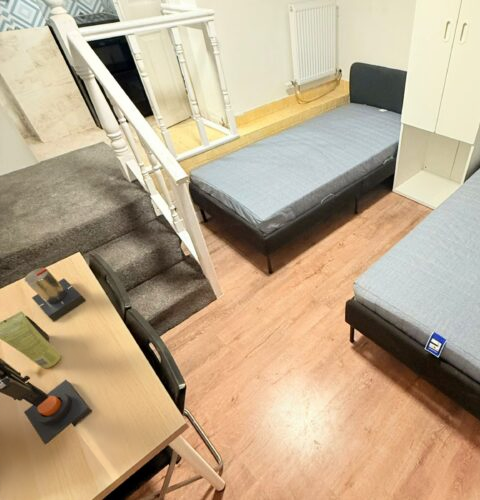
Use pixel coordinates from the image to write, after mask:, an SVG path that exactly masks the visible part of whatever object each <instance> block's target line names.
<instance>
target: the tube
mask: <svg viewBox="0 0 480 500" xmlns="http://www.w3.org/2000/svg"><path fill="white" fill-rule="evenodd" d="M25 316H26V315H25V313H24V312H23V311H18V312H17V313H15V314H12V315H11V316H9V317H7V318H5V319H2V320H1V321H0V340H1V341H2V342H4V343H6V344H7V345H9V346H10V347H12V348H14V349H15V350H16V351H18V352H20V353H21V354H22V355H24V356H25V357H27V358H28V359H29V360H31V361H33V362H34V363H35V364H36V365H37V366H39V367H40V368H42V369H50V368H52V367H53V366H55V365H56V364H57V363H58V362H59V361H60V359H61V353H60V352H59V351H58V350H57V349H56V348H55V347H54V346H53V345H52V344H51V343H50V342H49V341H48V342H47V341H46V339H45V338H44V337H43V336H42V335H41V334H40V333H39V332H38V331H37V330H36V329H35V328H34V326H33V325H32V324H31V323H30V322H29V320H28V319H27V318H26V317H25Z"/></svg>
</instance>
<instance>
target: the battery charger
mask: <svg viewBox="0 0 480 500" xmlns="http://www.w3.org/2000/svg"><path fill="white" fill-rule="evenodd" d="M25 317H26V318H27V319H28V320H29V322H30V323H31V324H32V325H33V326H34V328H35V329H36V330H37V331H38V332H39V333H40V334H41V335H42V336H43V337H44V338H45V339H46V341H47V342H48V343H49V334H48V333H47V332H46V331H45V330H43V329H42V328H41V327H40V326H39V325H38V324H37V323H36V322H35V321H34V320H33V319H31V318H30V317H29V316H28V315H25Z"/></svg>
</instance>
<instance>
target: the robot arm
mask: <svg viewBox="0 0 480 500" xmlns="http://www.w3.org/2000/svg"><path fill="white" fill-rule="evenodd" d="M29 380H31V377H30V376H29V375H28V374H26V375H25V376H24V377H23V376H22V373H21V372H20V371H18V370H16V369H15V368H14V367H12V365H10V364H9V363H7V362H6V361H5V360H4V359H3V358H1V357H0V394H3V395H5V396H8V397H10V398H12V399H13V400H14V401H16V400H17V401H19V402H21V401H23V400H24V401H26V402H28V403H29V404H31V406H32V405H34V406H36V407H37V406H39V405H40V404H41V403H42V402H44V401H45V400H46V399H47V398H49V397H48V395H47V394H48V393H46V392H45V391H43V390H42V389H40V388H39V387H37V386H36V385H34V384H33V383H31V382H30V381H29Z"/></svg>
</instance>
